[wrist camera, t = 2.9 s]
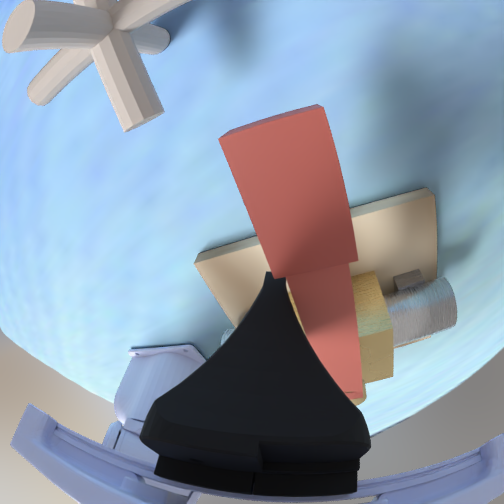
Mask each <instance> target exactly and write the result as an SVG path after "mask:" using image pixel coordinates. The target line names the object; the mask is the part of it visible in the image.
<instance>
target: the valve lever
mask: <svg viewBox="0 0 504 504" xmlns="http://www.w3.org/2000/svg"><path fill="white" fill-rule="evenodd" d="M218 140H219V142H220V145H221V147H222V150H223V152H224V155H225V157H226V159H227V162H228V164H229V167H230V169H231V172H232V174H233V177H234V179H235V182H236V184H237V187H238V189H239V192H240V194H241V196H242V199H243V201H244V204H245V206H246V209H247V211H248V214H249V216H250V219H251V221H252V224H253V226H254V229H255V231H256V234H257V236H258V239H259V242H260V244H261V247H262V249H263V252H264V254H265V257H266V259H267V262H268V264H269V267H270V269H271V272H272V274H273V277H274V279H278V278H283V277H286V280H287V283H288V286H289V288H290V291H291V294H292V297H293V300H294V303H295V305H296V308H297V311H298V314H299V317H300V320H301V323H302V326H303V328H304V331H305V334H306V337H307V339H308V341H309V343H310V345H311V346H312V348H313V350H314V351H315V353H316V355H317V356H318V358H319V360H320V361H321V363H322V364H323V365H324V367H325V368H326V370H327V371H328V372H329V374H330V375H331V377H332V378H333V380H334V381H335V382H336V383H337V385H338V386H339V387H340V388H341V390H342V391H343V392H344V393H345V395H346V396H347V397H348V398H349V399H350V400H351V401H352V403H353V404H354V405H355V406H356V405H359V404H361V403H362V402H364V401H365V399H366V388H365V381H364V379H362V369H361V356H360V345H359V335H358V325H357V317H356V309H355V301H354V294H353V288H352V281H351V275H350V269H349V263H351V262H356V261H359V260H358V253H357V247H356V241H355V235H354V229H353V224H352V218H351V213H350V208H349V203H348V198H347V194H346V189H345V185H344V180H343V176H342V172H341V168H340V164H339V160H338V156H337V152H336V148H335V144H334V141H333V137H332V134H331V130H330V127H329V123H328V120H327V117H326V114H325V110H324V107H322V106H320V105H318V104H316V105H312V106H308V107H304V108H300V109H296V110H293V111H289V112H285V113H282V114H279V115H275V116H272V117H268V118H265V119H262V120H259V121H256V122H253V123H250V124H247V125H244V126H241V127H238V128H235V129H232V130H230V131H228V132H227V133H225V134H224V135H223V136H221V137H220V138H219V139H218Z"/></svg>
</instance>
